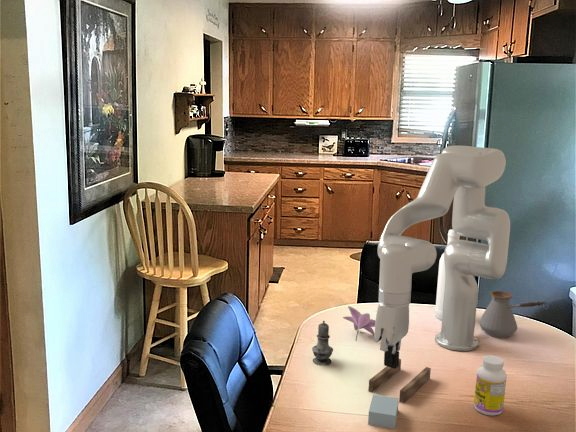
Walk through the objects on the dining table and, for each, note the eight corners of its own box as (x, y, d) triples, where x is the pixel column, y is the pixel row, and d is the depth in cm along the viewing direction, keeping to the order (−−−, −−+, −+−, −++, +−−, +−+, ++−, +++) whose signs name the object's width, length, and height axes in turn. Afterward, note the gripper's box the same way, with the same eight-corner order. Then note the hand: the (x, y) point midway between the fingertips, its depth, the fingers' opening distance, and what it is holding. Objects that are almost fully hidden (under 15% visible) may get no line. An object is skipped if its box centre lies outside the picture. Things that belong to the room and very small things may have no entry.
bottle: (457, 323, 196) (466, 234, 190) (433, 319, 199) (440, 231, 193) (460, 315, 204) (467, 229, 197) (436, 311, 206) (443, 226, 200)
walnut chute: (396, 368, 164) (397, 358, 163) (429, 378, 158) (430, 368, 158) (368, 391, 151) (369, 380, 150) (403, 403, 145) (404, 391, 145)
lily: (386, 346, 180) (390, 314, 183) (357, 338, 174) (362, 305, 177) (359, 344, 190) (363, 314, 192) (330, 337, 184) (335, 306, 186)
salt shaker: (331, 367, 163) (333, 325, 161) (309, 364, 165) (311, 323, 162) (334, 357, 169) (335, 317, 167) (313, 355, 170) (314, 315, 168)
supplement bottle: (469, 402, 147) (474, 353, 144) (495, 402, 147) (500, 353, 145) (480, 417, 140) (485, 366, 137) (507, 416, 141) (513, 365, 138)
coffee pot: (470, 330, 191) (474, 285, 188) (493, 323, 197) (498, 279, 194) (529, 355, 174) (535, 306, 171) (553, 347, 180) (559, 299, 177)
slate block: (372, 407, 144) (373, 394, 143) (397, 411, 142) (398, 398, 141) (367, 425, 136) (368, 411, 135) (394, 429, 134) (395, 415, 134)
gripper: (394, 283, 152) (390, 350, 156) (365, 301, 140) (363, 373, 144) (422, 290, 147) (417, 358, 152) (395, 309, 136) (391, 382, 140)
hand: (391, 365), depth 148 cm, fingers closed
